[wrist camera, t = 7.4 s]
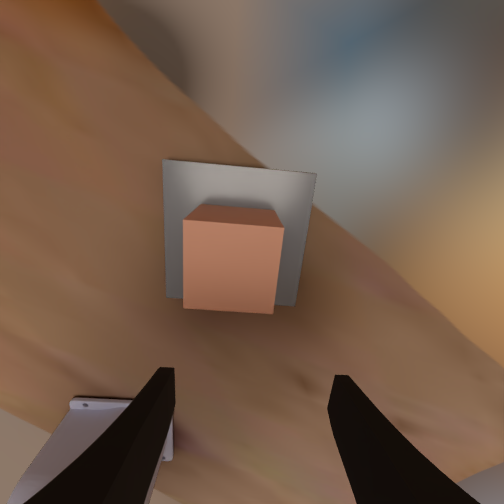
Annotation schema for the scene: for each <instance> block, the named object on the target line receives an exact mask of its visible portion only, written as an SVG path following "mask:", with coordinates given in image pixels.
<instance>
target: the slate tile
mask: <svg viewBox="0 0 504 504" xmlns="http://www.w3.org/2000/svg"><path fill="white" fill-rule="evenodd" d="M162 163H163V198H164V234H165V270H166V298H181V299H183V219H184V218H185V217H187V216H188V215H189V214H190V213H191V212H192V211H193V210H195V209H196V208H197V207H198V206H199V205H200V204H207V205H219V206H231V207H243V208H255V209H267V210H275V212H276V214H277V216H278V217H279V219H280V221H281V223H282V225H283V226H284V235H283V242H282V250H281V257H280V265H279V272H278V280H277V287H276V295H275V303H274V305H283V306H295V303H296V297H297V291H298V285H299V279H300V273H301V267H302V261H303V255H304V249H305V243H306V237H307V231H308V225H309V219H310V213H311V207H312V201H313V195H314V189H315V183H316V177H317V174H316V173H307V172H297V171H285V170H274V169H264V168H254V167H243V166H232V165H221V164H211V163H200V162H189V161H178V160H167V159H162Z"/></svg>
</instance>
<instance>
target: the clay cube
mask: <svg viewBox="0 0 504 504" xmlns="http://www.w3.org/2000/svg"><path fill="white" fill-rule="evenodd" d="M283 235H284V226H283V225H282V223H281V221H280V219H279V217H278V216H277V214H276V212H275V210H267V209H255V208H243V207H231V206H219V205H207V204H200V205H199V206H198V207H197V208H196V209H195V210H193V211H192V212H191V213H190V214H189V215H188V216H187V217H185V218H184V219H183V308H186V309H201V310H217V311H232V312H247V313H263V314H273V310H274V303H275V295H276V287H277V280H278V272H279V265H280V257H281V250H282V242H283Z"/></svg>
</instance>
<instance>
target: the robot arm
mask: <svg viewBox="0 0 504 504" xmlns="http://www.w3.org/2000/svg"><path fill="white" fill-rule="evenodd" d="M69 405H70V410H69V412H68V413H67V414H66V416H65V417H64V418H63V420H62V421H61V423H60V424H59V425H58V427H57V428H56V430H55V431H54V432H53V434H52V435H51V437H50V438H49V439H48V441H47V442H46V444H45V445H44V446H43V448H42V449H41V450H40V452H39V453H38V455H37V456H36V457H35V459H34V460H33V462H32V463H31V464H30V466H29V467H28V468H27V470H26V471H25V473H24V474H23V476H22V477H21V478H20V480H19V482H18V483H17V485H16V487H15V488H14V490H13V492H12V494H11V496H10V498H9V500H8V502H7V504H149V502H150V498H151V495H152V491H153V488H154V485H155V481H156V478H157V474H158V471H159V467H160V464H161V461H171V460H172V459H173V455H174V454H173V411H174V407H175V374H174V368H168V367H160V368H159V369H158V370H157V371H156V372H155V374H154V375H153V376H152V377H151V379H150V380H149V381H148V383H147V384H146V385H145V386H144V388H143V389H142V390H141V391H140V392H139V394H138V395H137V396H136V397H135V398H134V399H133V400H117V399H97V398H77V397H76V398H73V399H72V400H71V401H70V403H69ZM327 410H328V414H329V419H330V423H331V427H332V431H333V435H334V438H335V441H336V444H337V447H338V450H339V453H340V456H341V459H342V462H343V465H344V468H345V471H346V473H347V476H348V479H349V482H350V485H351V488H352V491H353V494H354V497H355V500H356V503H357V504H480V503H479V502H477V501H476V500H475V499H474V498H472V497H471V496H470V495H469V494H468V493H466V492H465V491H464V490H463V489H462V488H460V487H459V486H458V485H457V484H455V483H454V482H453V481H452V480H451V479H449V478H448V477H447V476H446V475H445V474H444V473H442V472H441V471H440V470H439V469H438V468H437V467H436V466H435V465H434V464H432V463H431V462H430V461H429V460H428V459H427V458H426V457H425V456H424V455H423V454H421V453H420V452H419V451H418V450H417V449H416V448H415V447H414V446H413V445H412V444H411V443H410V442H409V441H408V440H407V439H406V438H405V437H404V436H403V435H402V434H401V433H400V432H399V431H398V430H397V429H396V428H395V427H394V426H393V425H392V424H391V423H390V422H389V420H388V419H387V418H386V417H385V416H384V415H383V414H382V413H381V412H380V411H379V410H378V409H377V407H376V406H375V405H374V404H373V403H372V402H371V401H370V400H369V398H368V397H367V396H366V395H365V394H364V393H363V392H362V390H361V389H360V388H359V387H358V386H357V385H356V383H355V382H354V381H353V380H352V379H351V378H350V377H349V376H348V375H335V377H334V381H333V386H332V390H331V394H330V399H329V403H328V407H327Z"/></svg>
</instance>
